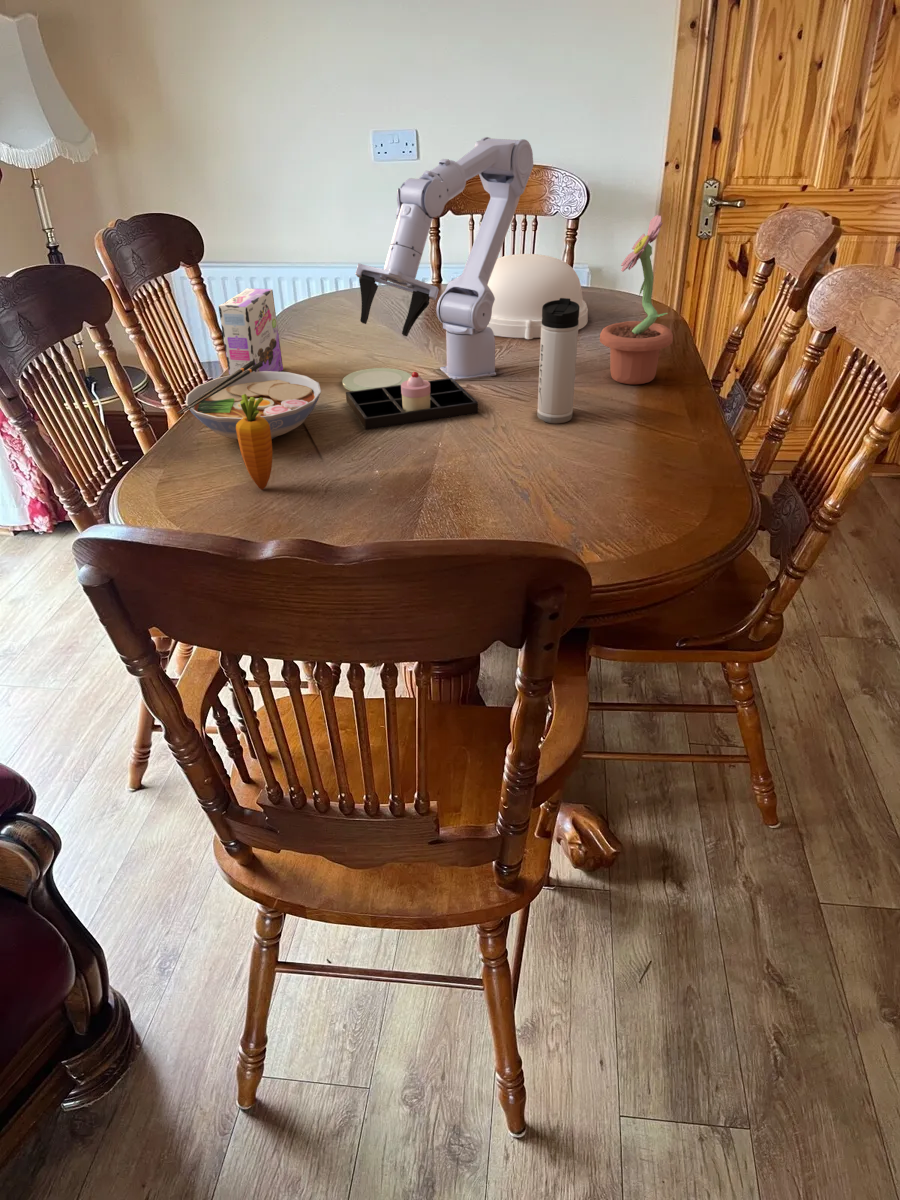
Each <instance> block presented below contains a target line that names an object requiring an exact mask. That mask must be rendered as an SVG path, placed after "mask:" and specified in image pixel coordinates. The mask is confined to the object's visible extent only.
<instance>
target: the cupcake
mask: <svg viewBox="0 0 900 1200" xmlns="http://www.w3.org/2000/svg"><path fill="white" fill-rule="evenodd" d="M411 375H412V376H411V377H410V378H409V379H408V380H407V381H404V382H403V383H402V384H401V393H402V405H403V410H404V412H409V411H416V410H423V409H430V383H429V382H428V381H429V380H425V379H423V378H422V377H421V376H420V375H419V372H417V371H413V372H412V373H411Z"/></svg>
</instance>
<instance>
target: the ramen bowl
mask: <svg viewBox="0 0 900 1200" xmlns="http://www.w3.org/2000/svg"><path fill="white" fill-rule="evenodd" d="M253 365H254V361H251V362H249V363H248V364H246V365H245V366H243V367H242V368H241V369H239V370H238V371H236V372H235V373H233V374H232V375H229V374H228V375H225V376H222V377H217V378H214V379H211V380H209V381H206V382H204V383H201V384H199V385H197V386H195V387H194V388H193V389H192V390H191V391H190V392H188V393H187V394H186V395H185V407H183V408H182V409H180V410H179V411H177V412H176V414H179V415H182V414H183V413H185V412H187V411H188V410H189V411H190V412H191V414H192V415H193V416H194V417H195V418H196V419H197V420H198V421H199V422H200V423H202V424H203V425H204V426H206V427H207V428H208V429H210V430H211V431H212V432H213V433H216V434H217V435H220V436H222V437H226V438H230V439H233V440H238V437H237V432H236V424H237V423H238V422H239V421H240V420H241V419H243V418H244V417H246V415H245V413H244V411H243V409H242V407H241V404H240V402H241V401H242V397H241V396H242V395H243V394H246V395H247V398H248V401H249V399H250V397H254V398H255V403H256V401H257V400H258V399H259V398H260V397H261V398H263V400H262V401H261V402H260V403H259V405H258V407H257V409H256V410H258V411H259V413H258V414H257V416H260V417H263V418H264V419H265V420H266V421H267V422H268V423H269V425H270V431H271V440H273V439H275V438H277V437H278V436H282V435H285V434H287V433H289V432H291V431H293V430H295V429H297V428H299V426H301V425H302V424H303V423H304V422H305V421H306V419H307V418H308V416H310V414H311V413H312V411H313V410H314V409H315V406H316V405H317V403H318V402H319V398H320V395H321V393H322V389H321V386H320V382H319V381H316V380H315V379H313V378H311V377H309V376H307V375H303V374H299V373H294V372H290V371H281V372H273V371H260V372H253V371H255V370H256V369H258V368H260V367H262V366H263V363H262V362H259V363H257V364H256V365H254V366H253ZM252 366H253V367H252ZM250 367H251V368H250ZM249 368H250V369H249ZM247 369H248V370H247ZM245 370H246V371H245ZM243 371H245V372H243ZM242 372H243V373H242ZM255 403H254V405H255Z"/></svg>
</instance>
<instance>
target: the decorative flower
mask: <svg viewBox="0 0 900 1200" xmlns="http://www.w3.org/2000/svg"><path fill="white" fill-rule="evenodd" d="M662 226H663V221H662V215H659V214H657V215H654V216H653V217H652V218H651V219H650V220H649V225H648V230H647V234H645V233H642V235H641V236H640V237H639V238H638V239H637V240H636V241H635V243H634V244H633V246H632V247H631V250H633V251H632V252H630V253H629V254H627V256H626V257H625V259H624V260H623V261H622V263H621V265H620V266H621V269H620V270H621V272H625V271H626V270H627V269H628V270H629V271H630V270H631V269H632V268H634V267H635V266H636V265H637V263H638V260H640V263H641V267H642V268H641V269H642V274H643V281H642V284H641V286H640V290H639V296H640V295H641V294H642V299H641V305H642V308H643V310H644V312H645V314H646V315H647V316H646V317H645V318H644V319H643V320H629V321H622V322H616V323H612V324H609V325H606V326H604V327H603V328H602V330H601V332H600V334H599V342H600V344H602V345H603V346H604V347H607V348H609V349H610V350H609V352H610V353H609V354H610V355H609V356H610V357H609V358H610V359H609V360H610V361H609V363H610V364H609V365H610V368H609V369H610V371H609V372H610V376H611V378H612V379H613V380H614V381H615V382H617V383H620V384H624V385H644V384H647V383H650V382H652V381H653V380H654V379H655V378H656V374H657V369H658V364H659V357H660V353H661V349H665V348H668V347H669V346H670V345H671V344H673V343H674V342H673V341H674V334H673V332H672V329H670V328H669V327H668V326H666V325H663V324H661V323H658V322H657V323H656V321H657V319H658V318H659V317H663V316H665V315H668V314H669V313H668V312H663V313H658V311H657V309H656V308H655V307H654V305H653V303H652V297H653V290H654V288H653V287H654V270H653V265H652V260H651V256H652V255H653V247H652V245H650V244H651V243H653V242H654V241H655V240H657V238H658V236H659V234H660V232H661V227H662Z"/></svg>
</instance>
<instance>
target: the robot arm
mask: <svg viewBox="0 0 900 1200" xmlns="http://www.w3.org/2000/svg"><path fill="white" fill-rule="evenodd" d="M474 143H475V144H474V147H473V148H472V149H471V150H470V151H468V152H467V153H466V154H464V155H463V156H462V157H461V158H459V159H457V161H455V160H452V159H448V158H442V159H440V160H439V161H438V165H436V166H435V167H433V168H431V169H430V170H425V171H423V172H422V175H421V176H419V177H418V178H416V177H415V178H413V177H410V178H407V179H406V180H405V181H404V182H402V184H401V185H400V188H399V187H398V188H397V191H396V202H397V208H396V211H395V216H396V217H395V218H396V223H395V227H394V229H393V230H394V231H393V234H392V238H391V241H390V245H389V248H388V251H387V255H386V259H385V263H384V266H383V268H382V267H376V266H371V265H367V264H362V263H360V262H358V263H357V267H356V269H355V276H356V277H357V278H359V279H358V283H359V289H360V297H361V298H360V299H361V300H360V301H361V308H360V310H361V311H360V320H359V321H360V322H361V323H362V324H363V325H367V323H368V321H369V316H370V312H371V308H372V304H373V301H374V298H375V296H376V293H377V290H378V289H379V285H378V284H377V283H379V284H382V285H386V286H389V287H393V288H395V289H399V290H402V291H406V292H408V293H412V294H411V299H410V303H409V308H408V312H407V316H406V319H405V321H404V324H403V327H402V330H401V334H402V336H404V337H408V336H409V334H410V331H411V329H412V328H413V326H414V324H415V323H416V321H417V320H418V318H419V317H420V316H421V315H422V314H423V312H424V311H425V310H426V308H428V307H429V306H430V300H432V301H436V300H437V298H438V294H439V291H440V290H439V287H438V286H435V285H434V284H433V285H432V284H430V283H427V282H424V281H422V280H419V279H416V277H417V274H418V272H419V271H418V270H419V267H420V264H421V260H422V257H423V253H424V250H425V246H426V243H427V239H428V236H429V232H430V229H431V226H432V222H433V218H436V217H440V216H441V214H443V212H444V209H445V206H446V204H447V203H448V202H449V201H450V200H452V199H454V198H455V197H457V196H458V195H459V194H461V193H462V192H463V191H464V190H465V188H466V185H467V182H468V181H469V180H471V179H473V178H475V177H477V176H479V178H480V182H481V185H482V187H483V189H484V191H485V192H486V193H488V194H489V197H490V198H489V201H488V204H487V206H486V209H485V211H484V215H483V217H482V220H481V223H480V225H479V228H478V231H477V233H476V236H475V239H474V241H473V244H472V247H471V249H470V252H469V255H468V257H467V260H466V262H465V265H464V268H463V270H462V272H461V274H460V275H459V276H457V277H455V278H453V279H452V280H450V281H448V283H447V285H446V287H445V290H444V291H443V292H442V294H440V296H439V298H438V300H437V303H436V317H437V319H438V321H439V322H440V323H441V324H442V329H443V330H445V342H446V343H445V346H446V348H445V352H446V353H445V354H446V365H444V366H440V367H439V369H440V371H441V372H442V373H444V374H445V375H446V376H447V377H448V378H452V379H454V380H455V381H461V380H466V379H476V378H482V377H489V376H490V377H495V376H497V372H496V338H495V335H494V333H493V331H492V329H491V328H490V327H487V325H488V324H489V322H490V320H491V316H492V307H493V303H494V300H495V298H494V295H493V293H492V291H491V290H490V288H489V287H488V285H487V284H488V282H489V279H490V276H491V274H492V271H493V269H494V266H495V263H496V261H497V258H499V255H500V252H501V250H502V247H503V245H504V242H505V239H506V237H507V234H508V231H509V229H510V227H511V224H512V221H513V219H514V216H515V213H516V210H517V207H518V205H519V202H520V199H521V195H523V194H524V192H525V190H526V187H527V184H528V182H529V179H530V177H531V175H532V172H533V169H534V156H533V155H534V154H533V148H532V145H531V143H530V141H529V140H527V139H524V138H523V139H510V138H509V139H507V138H491V137H488V136H484V137H482V138H481V139H480V140H476V141H475V142H474Z"/></svg>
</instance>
